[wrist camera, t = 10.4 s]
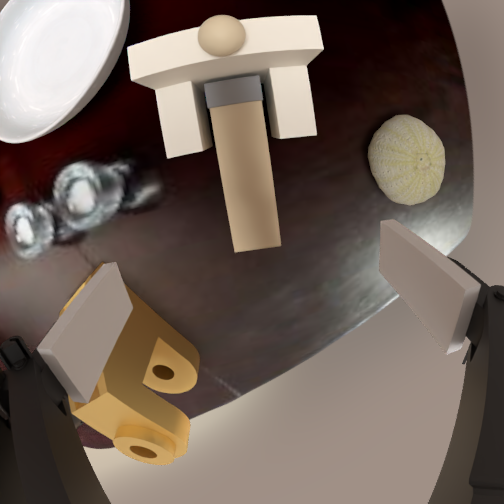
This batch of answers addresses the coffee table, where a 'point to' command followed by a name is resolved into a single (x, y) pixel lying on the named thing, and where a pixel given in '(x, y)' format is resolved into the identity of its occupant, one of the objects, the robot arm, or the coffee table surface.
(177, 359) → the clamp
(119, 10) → the serving bowl
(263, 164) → the rail
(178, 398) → the coffee table surface
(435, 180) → the sea urchin shell
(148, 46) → the white notched block
